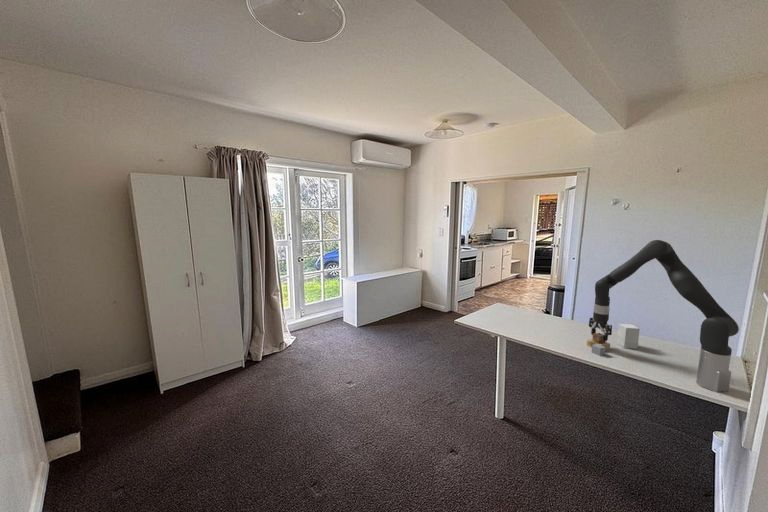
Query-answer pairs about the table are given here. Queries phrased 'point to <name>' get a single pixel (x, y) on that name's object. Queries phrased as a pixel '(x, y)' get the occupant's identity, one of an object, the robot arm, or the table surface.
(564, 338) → the table surface
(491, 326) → the table surface
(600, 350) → the grey painted cube
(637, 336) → the supplement box
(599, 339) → the walnut cube
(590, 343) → the oak base block
